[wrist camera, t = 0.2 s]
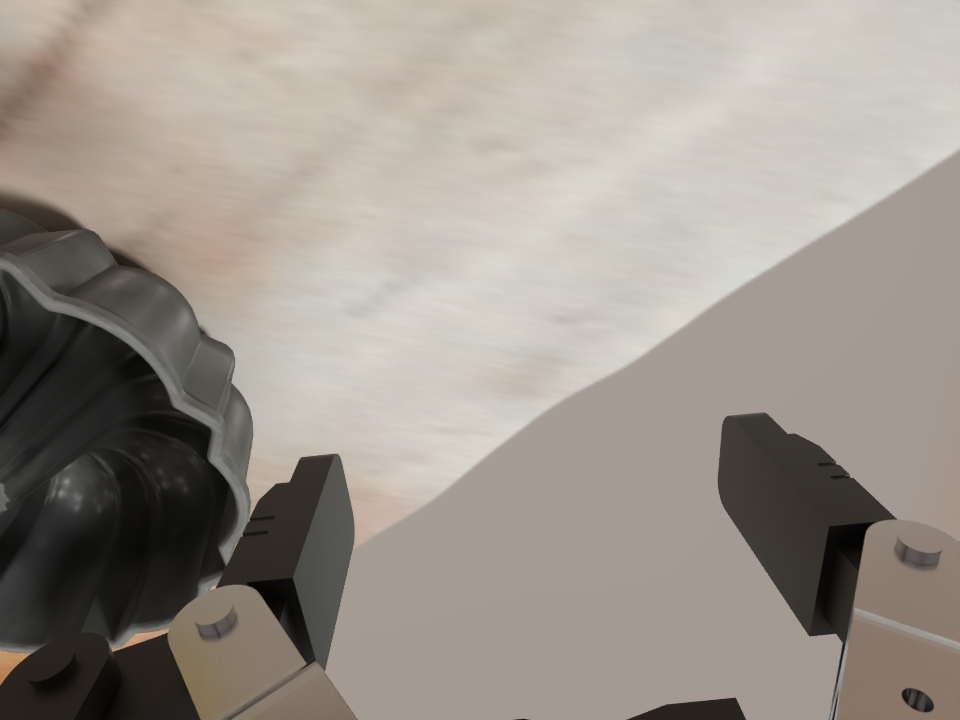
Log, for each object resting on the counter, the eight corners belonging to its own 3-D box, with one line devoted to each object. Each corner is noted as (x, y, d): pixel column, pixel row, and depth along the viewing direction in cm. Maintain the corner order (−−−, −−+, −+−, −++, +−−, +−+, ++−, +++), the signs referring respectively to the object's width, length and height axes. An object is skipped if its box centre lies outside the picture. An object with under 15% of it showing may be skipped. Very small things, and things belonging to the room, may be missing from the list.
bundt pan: (292, 542, 45) (256, 670, 36) (-96, 516, 42) (-236, 650, 33) (289, 193, 31) (231, 267, 23) (-284, 115, 28) (-600, 167, 20)
